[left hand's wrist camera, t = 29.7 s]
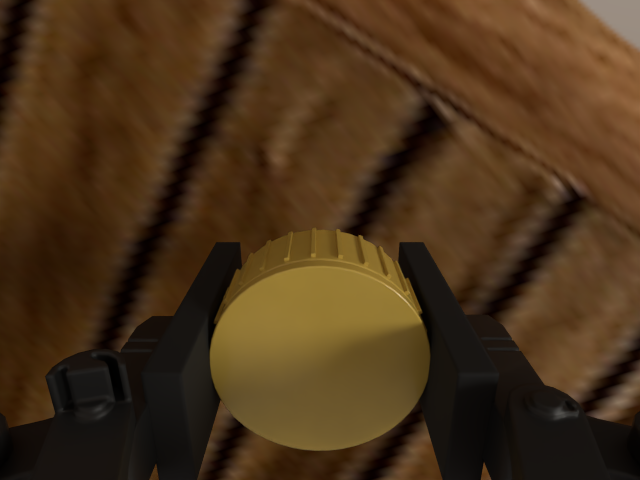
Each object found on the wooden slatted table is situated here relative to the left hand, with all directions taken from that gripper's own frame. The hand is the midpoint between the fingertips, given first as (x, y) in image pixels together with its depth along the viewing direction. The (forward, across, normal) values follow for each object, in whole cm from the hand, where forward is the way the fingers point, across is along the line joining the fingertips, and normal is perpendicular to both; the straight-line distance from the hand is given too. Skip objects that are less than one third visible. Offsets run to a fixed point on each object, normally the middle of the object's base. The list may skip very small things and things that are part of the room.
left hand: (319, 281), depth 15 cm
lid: (-4, 0, 0) cm, 4 cm away
